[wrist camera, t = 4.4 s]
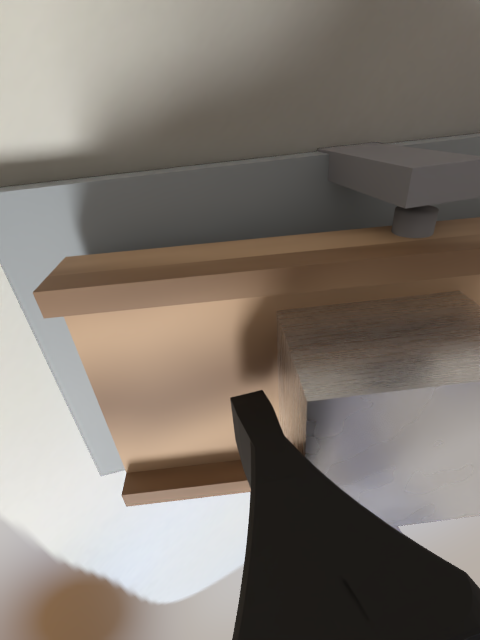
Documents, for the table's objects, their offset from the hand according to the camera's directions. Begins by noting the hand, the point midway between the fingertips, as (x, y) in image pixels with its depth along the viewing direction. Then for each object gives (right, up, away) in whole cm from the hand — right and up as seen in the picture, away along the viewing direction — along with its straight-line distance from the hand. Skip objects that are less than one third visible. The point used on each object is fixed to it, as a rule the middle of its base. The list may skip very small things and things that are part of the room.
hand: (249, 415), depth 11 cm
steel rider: (+4, +1, +1) cm, 4 cm away
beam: (+5, +2, +2) cm, 6 cm away
